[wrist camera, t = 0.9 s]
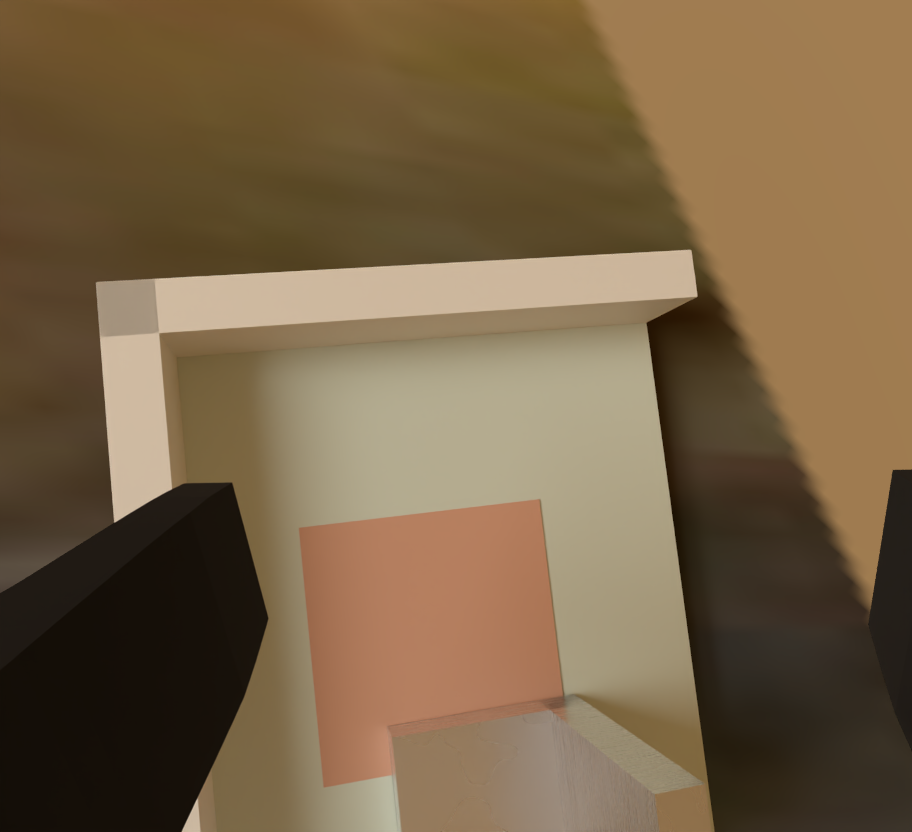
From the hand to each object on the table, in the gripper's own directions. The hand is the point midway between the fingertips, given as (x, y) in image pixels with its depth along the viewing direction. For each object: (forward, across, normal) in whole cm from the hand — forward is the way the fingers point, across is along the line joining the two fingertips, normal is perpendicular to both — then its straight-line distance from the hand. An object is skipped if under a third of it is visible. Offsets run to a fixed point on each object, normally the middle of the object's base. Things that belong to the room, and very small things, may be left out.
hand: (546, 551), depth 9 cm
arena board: (+10, +4, +9) cm, 14 cm away
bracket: (+6, +2, +13) cm, 15 cm away
